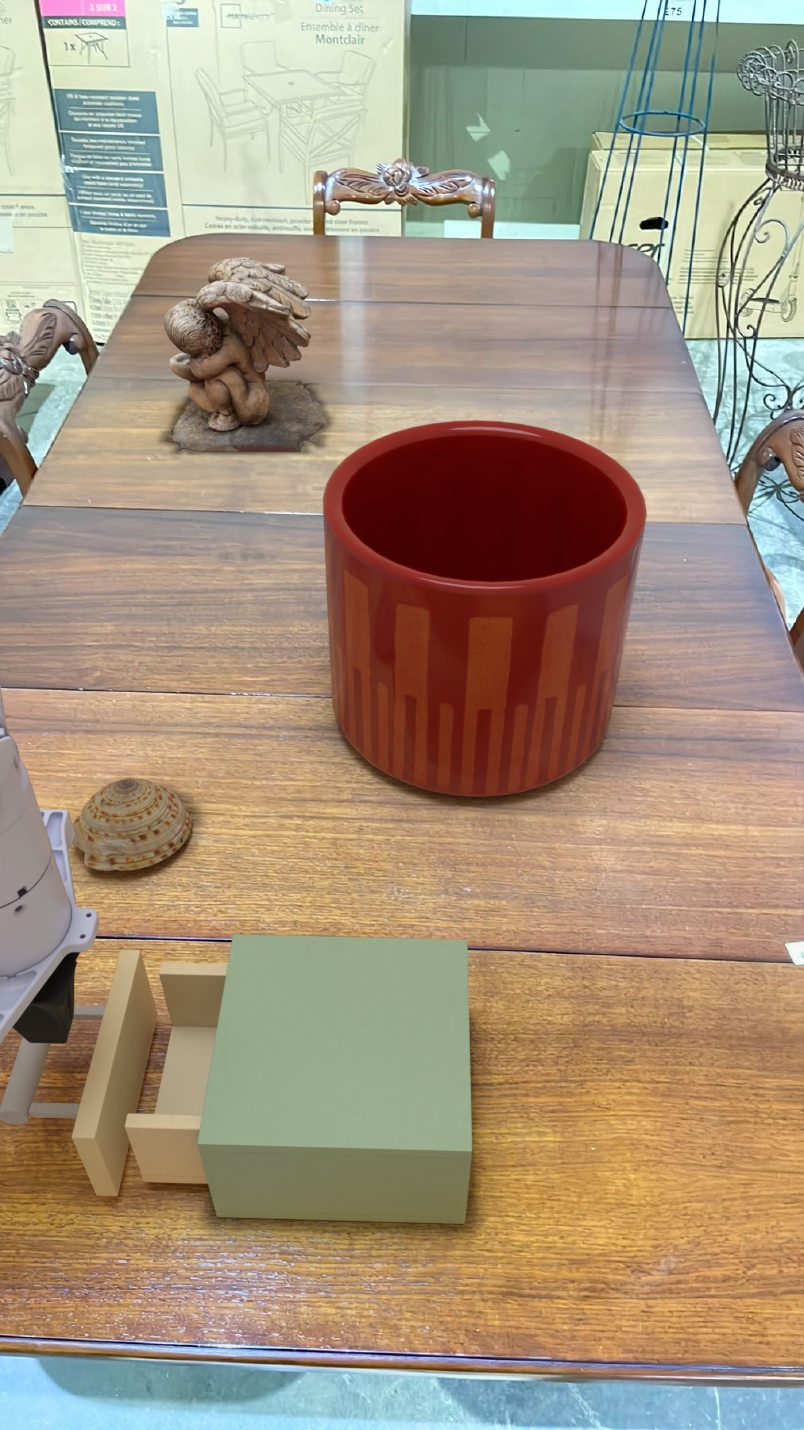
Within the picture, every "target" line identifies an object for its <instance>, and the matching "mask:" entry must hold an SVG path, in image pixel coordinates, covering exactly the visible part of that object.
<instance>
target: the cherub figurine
mask: <svg viewBox="0 0 804 1430" xmlns="http://www.w3.org/2000/svg"><path fill="white" fill-rule="evenodd" d="M207 281H208V284H206V285H205V286H204V287H201V288H200V290H199V292H198V293H197V295H196V299H193V298H189V299H186V300H182V301H180V302H179V303H177V304H175V305H174V306H172V307H170V308H169V309H168V310H167V311H166V313H165V316H164V319H163V326H164V327H163V328H164V331H165V334H166V335H167V337H168V339H169V341H170V342H171V343H172V344H173V345H174V346H175V347H176V348H177V349H178V350H179V351H180V352H181V353H178V354H175V355H174V356H172V357H171V358H170V359H169V368H170V370H171V371H172V372H173V374H175V375H176V376H177V377H179V378H180V379H183V380H186V381H189V386H188V391H187V392H188V397H189V398H190V399H191V401H190V402H189V403H188V404H187V405H186V406H185V407H184V412H183V413H182V415H180V417H179V419H177V422H176V423H175V425H174V428H170V431H168V432H167V433H168V434H172V435H170V436H166V437H165V441H167V442H171V443H173V444H174V443H175V444H178V448H177V451H180V450H182V449H187V450H192V452H196V451H198V452H301V449H302V447H303V446H304V444H305V441H309V442H311V443H314V444H316V445H319V443H320V436H317V437H312V435H314V434H315V433H317V431H319V430H321V429H323V427H324V426H325V425H326V420H325V417H324V415H323V413H322V412H321V411H319V406H320V404H319V403H318V402H317V401H313V399H312V396H311V393H310V392H309V390H308V389H306V388H305V387H306V386H308V385H310V384H311V382H310V383H309V382H308V383H306V384H298V382H293V381H292V382H291V381H280V380H279V381H277V380H274V381H273V380H270V379H268V380H267V376H266V372H267V371H268V369H269V368H270V366H273V367H278V368H282V369H287V368H289V367H291V362H297V361H301V359H302V358H303V355H302V352H301V351H300V349H299V348H298V347H302V348H308V347H309V345H310V340H311V339H312V335H311V332H309V331H308V330H307V329H306V328H305V326H303V325H302V324H301V323H300V322H299V321H305V320H306V319H308V318H309V317H311V315H312V309H311V306H310V305H309V304H308V303H307V302H306V301H305V300H306V298H308V297H309V295H310V292H309V289H308V288H307V287H305V286H304V285H303V284H302V283H300V282H299V281H296V280H294V279H290V277H288V276H286V267H285V266H284V265H283V264H280V263H279V264H278V263H264V262H260V261H257V260H254V259H252V258H251V257H235V258H225V259H223V260H221V261H218V262H216V263H214V264H213V265H212V266H211V267H210V268H209V270H208V272H207ZM215 309H222V310H223V311H224V312H220V311H219V312H215ZM298 320H299V321H298Z"/></svg>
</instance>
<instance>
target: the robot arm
mask: <svg viewBox="0 0 804 1430" xmlns="http://www.w3.org/2000/svg"><path fill="white" fill-rule="evenodd" d="M73 824H74V823H73V821H72V818H71V814H70V810H69V809H49V808H48V809H46V808H45V809H44V808H40V806H39V803H38V800H37V796H36V793H35V790H34V788H33V785H32V781H31V778H30V774H29V772H28V770H27V767H26V765H25V763H24V762H23V760H22V759H21V756H20V752H19V748H18V745H17V742H16V740H15V739H14V737H13V736H12V734H10V731H9V729H8V726H7V720H6V712H5V706H4V699H3V693H2V686H1V684H0V1045H2V1043H3V1041H4V1040H5V1038H6V1036H7V1035H8V1034H9V1033H10V1031H11V1030H12V1029H13V1030H15V1031H16V1032H17V1033H18V1034H19V1035H20V1036H21V1037H22V1038H23V1037H24V1038H25V1039H26V1040H27V1041H28V1042H29V1043H51V1044H56V1045H57V1044H58V1045H60V1044H61V1045H63V1044H66V1043H67V1042H68V1039H69V1035H70V1032H71V1029H72V1024H73V1021H74V1019H73V1017H74V1006H75V978H76V977H75V976H76V969H77V965H78V961H77V959H78V957H79V956H80V954H81V953H85V952H87V951H89V950H91V949H92V948H93V946H94V945H95V941H96V938H97V934H98V931H99V927H100V919H99V915H98V912H97V911H96V910H95V909H94V908H91V907H80V906H78V905H77V900H76V891H75V885H74V878H73V872H72V866H71V859H70V851H69V849H70V848H72V847H73V840H74V837H75V831H74V828H73Z"/></svg>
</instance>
